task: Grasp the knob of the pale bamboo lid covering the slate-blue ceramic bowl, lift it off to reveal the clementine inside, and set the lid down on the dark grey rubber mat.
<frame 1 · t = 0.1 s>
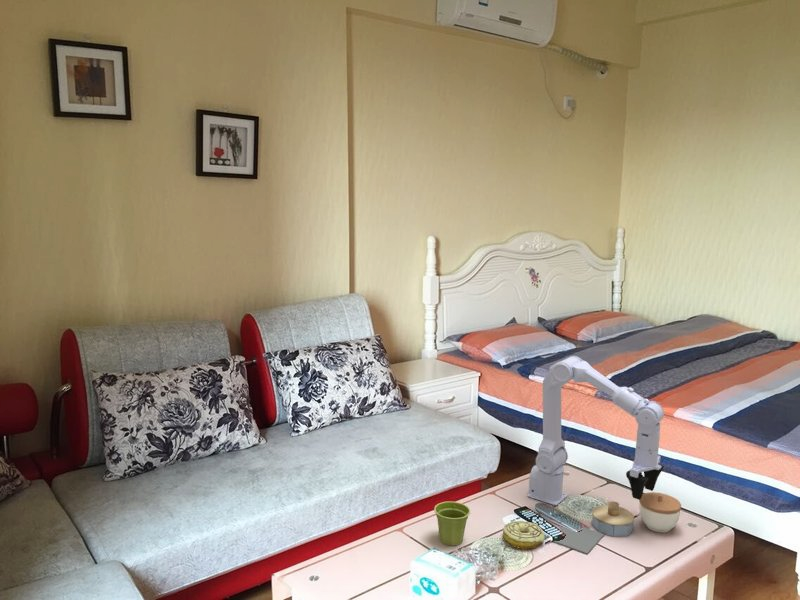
hand: (643, 493, 179), 10 cm above the table, fingers open, 7 cm apart
decorated donut: (523, 541, 173), on the table
mat: (574, 537, 175), on the table
lid: (612, 516, 180), point 3 cm above the table, touching bowl
bowl: (612, 526, 181), on the table
lidded jar: (657, 527, 181), on the table
plant pot: (451, 540, 173), on the table
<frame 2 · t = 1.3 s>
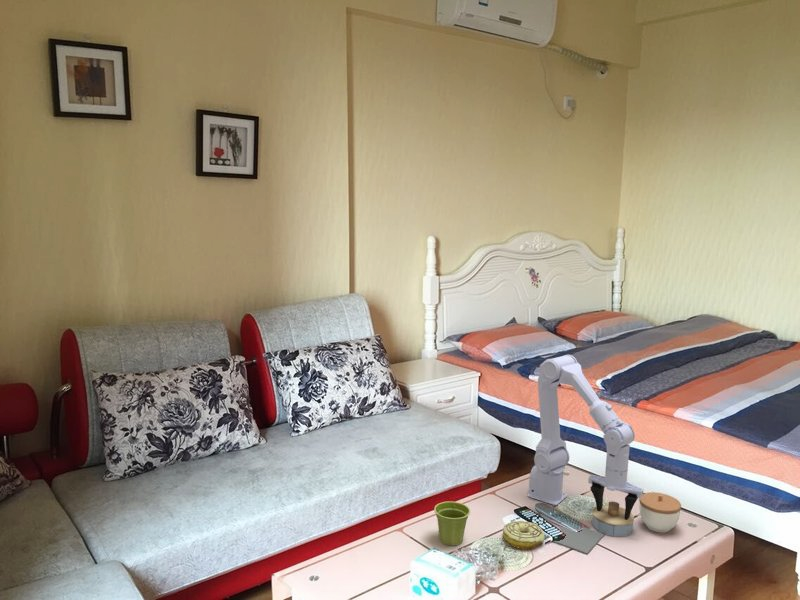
hand: (613, 513, 180), 4 cm above the table, fingers open, 7 cm apart
lid: (612, 516, 180), point 3 cm above the table, touching bowl, gripper
everything else where it was.
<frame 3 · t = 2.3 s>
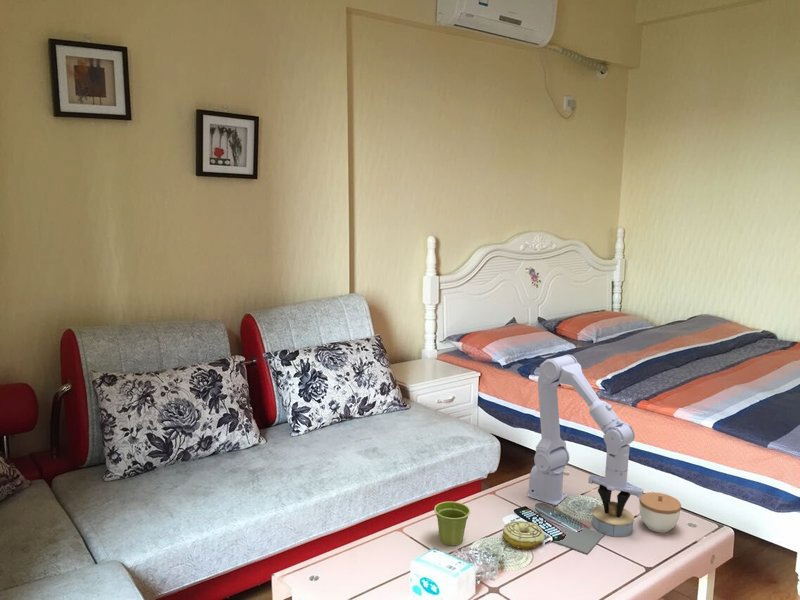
hand: (613, 513, 180), 4 cm above the table, fingers closed on lid, 3 cm apart
lid: (612, 516, 180), point 3 cm above the table, touching bowl, gripper
everything else where it was.
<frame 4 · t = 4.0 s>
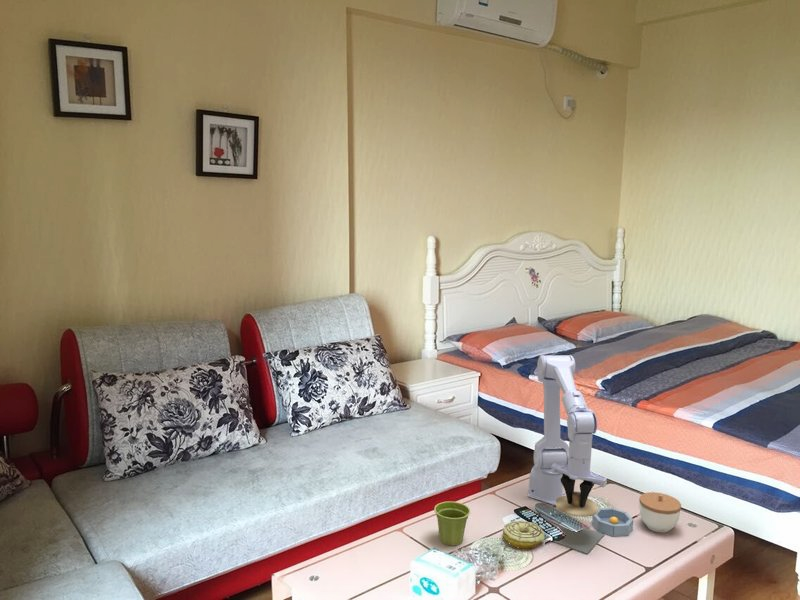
hand: (576, 504, 173), 10 cm above the table, fingers closed on lid, 3 cm apart
lid: (576, 506, 174), point 9 cm above the table, touching gripper
everything else where it was.
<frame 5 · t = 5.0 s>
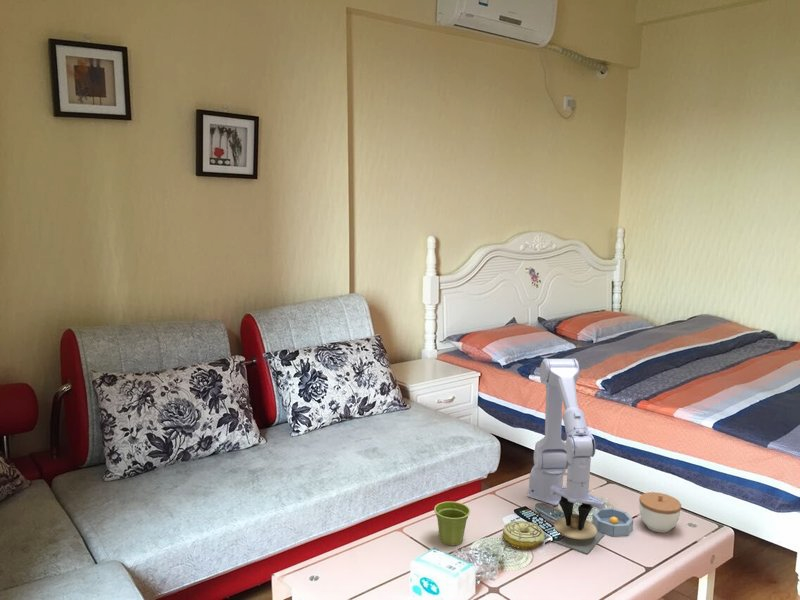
hand: (575, 526, 174), 3 cm above the table, fingers closed on lid, 3 cm apart
lid: (575, 528, 175), point 2 cm above the table, touching gripper
everything else where it was.
when the fingers open (2 cm above the table, at t = 6.0 s): lid stays where it is, resting on mat.
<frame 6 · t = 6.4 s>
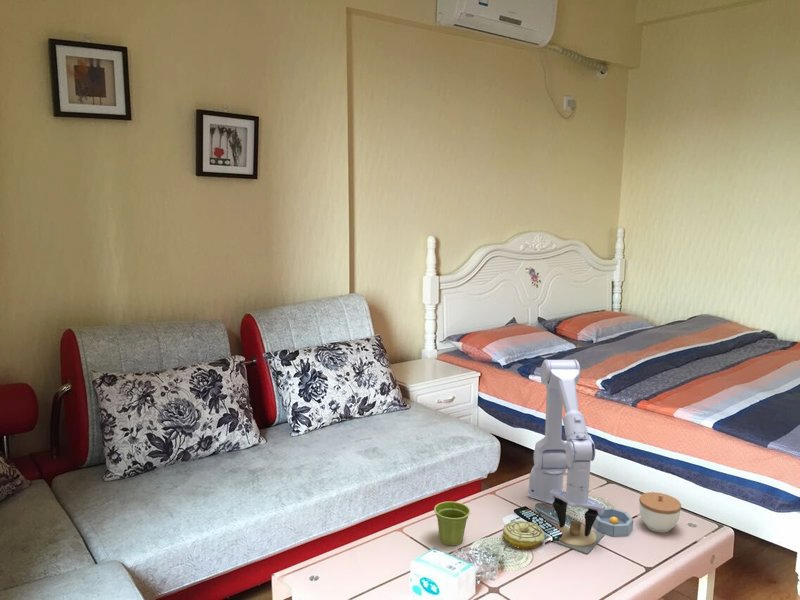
hand: (574, 530, 175), 2 cm above the table, fingers open, 6 cm apart
lid: (574, 535, 175), resting on mat
everything else where it was.
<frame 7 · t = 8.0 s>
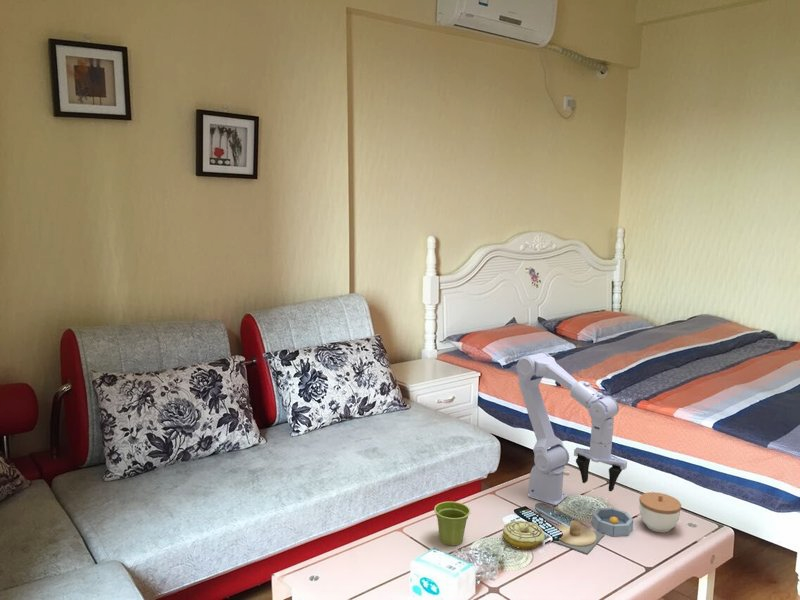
hand: (597, 485, 183), 10 cm above the table, fingers open, 7 cm apart
nothing on the table moved.
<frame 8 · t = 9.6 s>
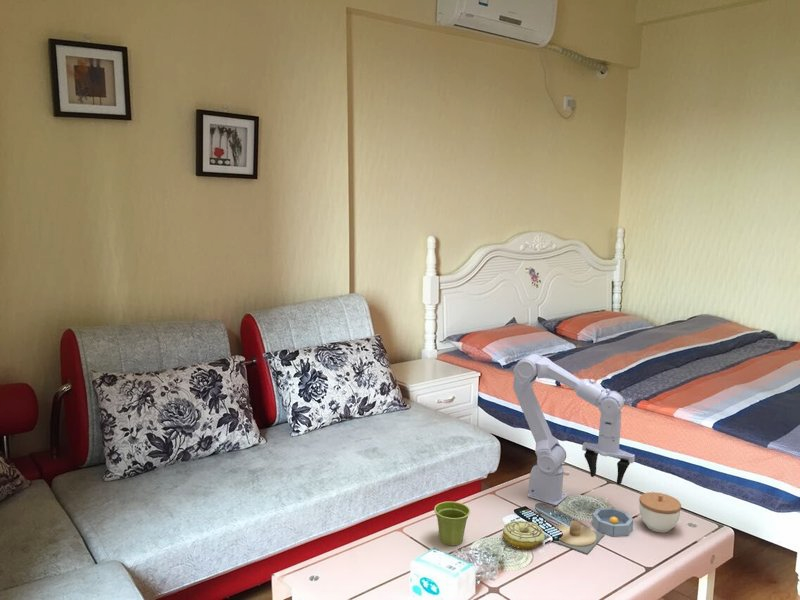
hand: (606, 479, 188), 10 cm above the table, fingers open, 7 cm apart
nothing on the table moved.
at the end: lid inside the target area on the mat (0.3 cm from its centre), point 0.4 cm above the mat's base; lid touching mat; lid moved 13.4 cm from its start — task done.
